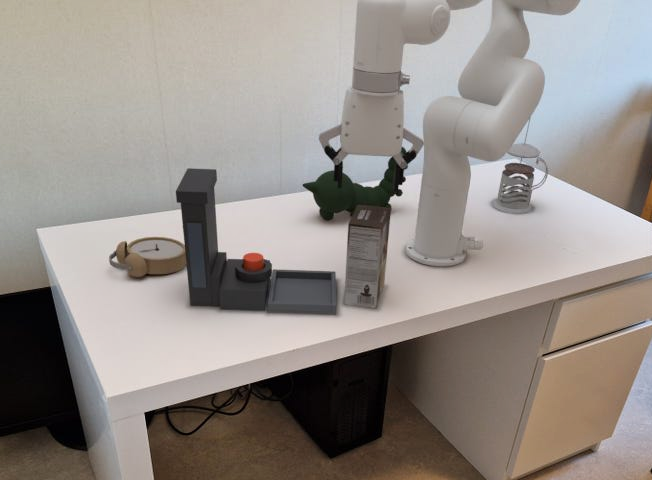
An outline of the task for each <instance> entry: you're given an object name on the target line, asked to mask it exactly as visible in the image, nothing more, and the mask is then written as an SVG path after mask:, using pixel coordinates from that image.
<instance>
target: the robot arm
mask: <svg viewBox="0 0 652 480" xmlns="http://www.w3.org/2000/svg"><path fill="white" fill-rule="evenodd" d="M483 1H484V0H357V1H356V12H355V14H356V16H355V31H354V34H355V35H354V47H353V61H352V62H353V65H352V79H351V85H350V86H347V88H346V91H345V95H344V99H343V105H342V106H343V107H342V113H341V121H340V122H341V123H340V124H339V125H335V126H334V127H331V128H330V129H327V130H326V131H323V132H320V133H319V134H318V141H319V142H320V145H321V147H322V149H323V152H324V154H325V155H326V156H327V157H328V158H329V159H330V160H331V161H332V163H333V170H334V182H337V188H342V174H343V173H344V172H343V171H344V159H345V158H346V157H348V155H351V156H367V157H368V156H369V157H387V158H388V157H389V158H391V157H392V156H393V158H394V159H395V160H396V162H397V163H396V164H395V168H394V177H393V189H394V191H398V189H399V188H400V186H403V183H404V182H403V176H404V175H405V174H404V173H405V170H404V168H406V166H407V165H408V166H409V164H410V163H411V162H413V161H414V160H415V159H416V158H417V156H418V154H420V151H421V150H422V148H423V164H422V173H421V180H420V181H421V183H420V191H419V199H418V200H419V201H418V208H417V216H416V223H415V233H414V239H411V240H409V241H408V242H407V244H406V245H405V246H406V247H405V253H406V255H407V256H408V257H409V258H410V259H412V260H413V261H415V262H417V263H420V264H421V265H422V264H423V265H426V266H431V267H452V266H455V265H459V264H461V263H462V262H464V261H465V259H466V255H467V252H468V250H473V251H482V250H483V249H484V241H483V240H476V237H475V236H465V235H463V229H464V222H465V217H466V216H465V215H466V211H467V210H466V209H467V203H468V197H469V190H470V186H471V180H472V179H471V178H472V172H471V171H472V170H471V164H470V160H469V157H470V158H474V159H476V160H480V161H484V162H489V163H490V162H491V163H493V162H497V161H499V160H501V159H502V158H503V157H505V155H506V154H508V153H507V152H508V150H509V149H510V147H511V146H512V145H513V144H515V142H516V140H517V138H518V137H519V136H520V134H521V133H522V131H523V130H524V128H525V126H526V125H527V124H528V123H529V119H530V120H531V118H532V116H533V114H534V112H535V111H536V109H537V107H538V105H539V104H540V101H541V99H542V97H543V93H544V90H545V85H546V77H545V71H544V69H543V68H542V66H541V65H540V64H539V63H538V62H537V61H533V60H531V59H529V58H525V57H526V55H527V54H528V51H529V49H530V45H531V40H530V39H531V38H530V32H529V29H528V27H527V23H526V21H525V18H524V12H530V13H536V14H537V13H538V14H543V15H551V16H566V15H568V14H571V12H573V11H574V10H575V9H576V8H577V7H578V6H579V4H580V2H581V0H491V16H490V17H491V18H490V26H489V29H488V31H487V33H486V35H485V36H484V38H483V39H482V41H481V42H480V44H479V45H478V47H477V49H476V50H475V51H474V53H473V54H472V55H471V57H470V59H469V60H468V62H467V63H466V65H465V66H464V68H463V70H462V71H461V73H460V76H459V78H458V83H457V91H458V93H459V95H460V96H455V95H444V96H440V97H437V98H435V99H434V100H432V101H431V102H430V103H429V105H428V106H427V108H426V109H425V112H424V113H423V114H424V115H423V119H422V138H423V139H422V138H421V137H420V136H417V134H415V133H413V132H411V131H410V130H408V129H406V128H405V127H404V125H405V124H404V123H405V109H404V108H405V107H404V106H405V99H404V97H405V96H404V90H402V89H401V87H402V86H405V85H409V84H410V82H411V81H410V79H411V75H409V74H406V73H403V72H402V66H403V56H404V47H405V45H407V44H409V45H419V46H428V45H431V44H434V43H436V42H437V41H439V40H440V39H441V38H443V36H444V35H445V33H446V32H447V30H448V28H449V26H450V22H451V11H458V10H464V9H471V8H473V7H476V6H477V5H479V4H480V3H481V2H483ZM530 117H531V118H530ZM338 136H340V137H339V138H340V140H339V142H340V146H339V148H338V149H337V150H336V149H334V147H333V146H332V145H331V142H330V141H331V140H332V139H334V138H336V137H338ZM403 140H406V142H408V143H410V144H412V146H411V148H410V149H409V150H408V151H406V152H407V153H406V154H404V155H403V154H402V153H401V149H402V147H403Z"/></svg>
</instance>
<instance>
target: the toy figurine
mask: <svg viewBox="0 0 652 480" xmlns="http://www.w3.org/2000/svg"><path fill="white" fill-rule="evenodd" d="M407 152H408V151H407V150H406V148H405V147H404V146H402V149H401V153H402V154H403V155H404V154H406V153H407ZM396 163H397V162H396V160H395V159H394V158H393V156H390V157H389V160H388V162H387V167H388V168H386V169H385V171H384V173H383V178H382V179H381V180H380V181H379V183H378V185H374V186H373V187H372V186H363V184H360V183H358V182H353V180H352V179H351V177H350V176H349V175H347V174H346V173H344V172H343V174H342V188H337V182H334V169H333V170H327V171H325V172H323V173H322V174H320V175H319V176H318V177H317V179H316V180H315V181H309V182H304V183H303V184H302V188H304V189H306V190H307V191H309V192H310V193H312V196H313V200H314V202H315V204H316V205H317V207H318V208H319V210H318V211H319V213H318V214H319V216H320V217H321V218H322V219H323V220H324V221H326V222H327V221H328V222H329V221H332V220H333V219H334V218H335V214H340V213H342V212H347V213H349V216H350V218H351V217H352V215H353V213H354V211H355V209H356V207H357V205H366V206H377V207H386V208H391V209H392V204H391V203H389V202H390V200H391V198H392V197H395V196H396V197H402V196H403V193H404V192H403V190H402V189H401V188H398V191H394V189H393V177H394V168H395V164H396ZM408 167H409V164H408V165H407V166H406V168H404V171H406V170H407V169H408ZM406 181H407V178H406V176H404V175H403V183H405V182H406Z"/></svg>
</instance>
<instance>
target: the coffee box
mask: <svg viewBox="0 0 652 480" xmlns="http://www.w3.org/2000/svg"><path fill="white" fill-rule="evenodd" d="M391 213H392V207H391V208H386V207H377V206H366V205H357V207H356V209H355V211H354V213H353V215H352V217H351V216H350V219H349V221H348V223H347V242H346V243H347V244H346V258H345V259H346V262H345V263H346V264H345V277H344V278H345V280H344V297H343V300H344V301H343V304H344V305H349V306H355V307H356V306H357V307H362V308H371V309H377V308H378V306H379V302H380V300H381V297H382V293H383V290H384V287H385V278H386V269H387V259H388V258H387V257H388V247H389V237H390V227H391V226H390V224H391Z"/></svg>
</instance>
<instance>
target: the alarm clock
mask: <svg viewBox="0 0 652 480" xmlns="http://www.w3.org/2000/svg"><path fill="white" fill-rule="evenodd" d="M115 258H116V260H117V262H116V261H114V260H113V259H115ZM108 262H109V265H110V266H112V267H113V268H115V269H119V270H126V271H127V272H128V274H129V275H130V276H132V277H134V278H142V277H144V276H145V275H146V274H148V275H168V274H173V273H176V272H179V271H181V270H183V269H184V268H185V267H186V266H187V265H186V254H185V244H184V242H181V241H180V240H177V239H174V238H170V237H164V236H147V237H142V238H141V237H140V238H137V239H135V240H132V241H130V242H129V243H128V242H127V240H125V241H121V242H119V243H118V245H117V246H116V249H115V250H114V251H113V252H112V253H110V254H109V256H108Z"/></svg>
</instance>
